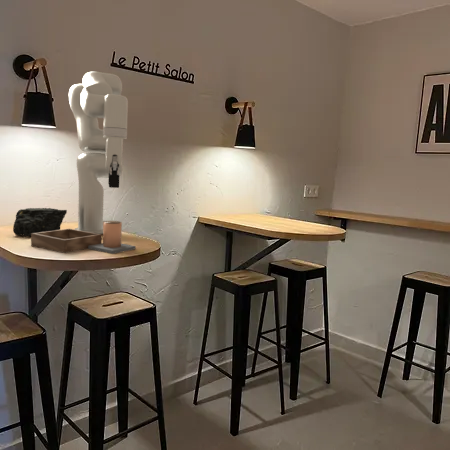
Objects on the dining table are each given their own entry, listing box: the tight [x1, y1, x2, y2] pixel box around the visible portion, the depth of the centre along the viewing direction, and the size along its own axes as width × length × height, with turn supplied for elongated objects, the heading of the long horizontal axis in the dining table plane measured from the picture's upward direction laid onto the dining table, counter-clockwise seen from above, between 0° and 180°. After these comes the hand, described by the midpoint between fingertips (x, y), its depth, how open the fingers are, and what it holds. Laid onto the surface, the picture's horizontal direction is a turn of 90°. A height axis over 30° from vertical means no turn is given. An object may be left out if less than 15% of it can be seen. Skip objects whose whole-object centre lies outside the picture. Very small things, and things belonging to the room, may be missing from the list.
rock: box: [12, 207, 68, 237], centre depth 170 cm, size 18×10×15 cm
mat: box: [87, 242, 137, 255], centre depth 152 cm, size 11×11×1 cm
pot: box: [102, 220, 123, 248], centre depth 152 cm, size 6×6×8 cm
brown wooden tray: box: [30, 228, 103, 253], centre depth 153 cm, size 16×16×4 cm
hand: (113, 186), depth 149 cm, fingers open, 9 cm apart
